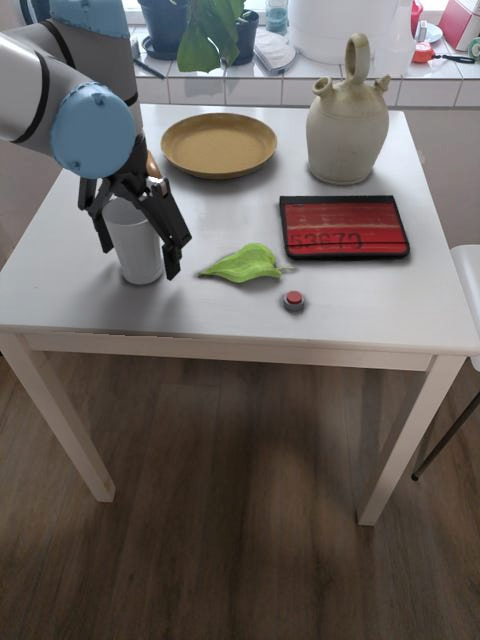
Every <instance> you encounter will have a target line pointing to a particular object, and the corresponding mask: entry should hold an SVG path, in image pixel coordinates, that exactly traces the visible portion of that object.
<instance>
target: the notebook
mask: <svg viewBox="0 0 480 640" xmlns="http://www.w3.org/2000/svg"><path fill="white" fill-rule="evenodd" d="M278 200H279V201H278V202H279V203H278V205H279V213H280V221H281V222H280V223H281V231H282V237H283V239H282V240H283V244H284V246H283V248H284V251H285V254H286V256H287V257H288V258H289V259H290V260H293V261H296V262H364V261H365V262H367V261H388V260H389V261H390V260H401V259H405V258H407V257H408V256H409V255H410V254H411V244H410V242H409V239H408V236H407V232H406V229H405V227H404V223H403V220H402V216H401V214H400V211H399V208H398V205H397V202H396V198H395V196H394V195H393V194H373V195H372V194H369V195H368V194H366V195H364V194H363V195H361V194H360V195H358V194H357V195H354V194H353V195H279V199H278Z"/></svg>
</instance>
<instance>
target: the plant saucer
mask: <svg viewBox="0 0 480 640" xmlns="http://www.w3.org/2000/svg"><path fill="white" fill-rule="evenodd" d="M277 148H278V137H277V135H276V133H275V131H274V130H273V129H272V128H271V126H269V125H268V124H266V123H265V122H263V121H262V120H259V119H257V118H255V117H252V116H249V115H245V114H241V113H234V112H208V113H207V112H206V113H199V114H196V115H192V116H188V117H186V118H183V119H180V120H179V121H176V122H175V123H173V124H172V125H170V126H169V127H168V128H167V129H166V130H165V131H164V132H163V134H162V136H161V138H160V150H161V152H162V154H163V156H164V157H165V158H166V160H167V161H168V162H169V163H170V164H171V165H172V166H174V167H175V168H176V169H178V170H179V171H181V172H183V173H185V174H187V175H190V176H193V177H196V178H199V179H206V180H229V179H236V178H239V177H243V176H246V175H248V174H251V173H253V172H255V171H257V170H259V169H261V167H263V166H264V165H265V164H267V163H268V162H269V161H270V160H271V158H272V157H273V155H274V153H275V152H276V149H277Z"/></svg>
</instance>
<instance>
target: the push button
mask: <svg viewBox="0 0 480 640" xmlns="http://www.w3.org/2000/svg"><path fill="white" fill-rule="evenodd" d="M304 304H305V297H304V295H303V294H302V293H301V292H300V291H298V290H291V291H288V292H287V293H286V294H284V296H283V306H284V307H285V308H286V309H288V310H290V311H298V310H302V308H303V307H304Z"/></svg>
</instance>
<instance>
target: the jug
mask: <svg viewBox="0 0 480 640" xmlns="http://www.w3.org/2000/svg"><path fill="white" fill-rule="evenodd" d="M370 66H371V47H370V42H369V39H368V37H367V35H366V34H365V33H363V32H355V33H353V34H352V35H351V36H350V37H349V38H348V40H347V43H346V46H345V52H344V70H345V74H346V77H345V79H344V80H343V81H340V82H336V83H334V84H333V78H332V77H331V76H328V75H326V76H322V77H320V78H319V79H318V80H317V81H315V82H314V83H313V85H312V88H311V92H312V93H313V94H314V95H315V96H316V97H314V99H313V101H312V103H311V105H310V107H309V110H308V112H307V116H306V122H305V138H306V140H305V141H306V148H307V160H308V166H309V171H310V172H311V174H312V175H313V176H314V177H315V178H317V179H318V180H320V181H321V182H323V183H326V184H330V185H333V186H334V185H335V186H352V185H355V184H358V183H361V182H363V181H364V180H366V179H367V178H368V176H369V175H370V173H371V172H372V169H373V167H374V166H375V163H376V161H377V159H378V157H379V155H380V154H381V151H382V149H383V146H384V144H385V142H386V139H387V138H388V133H389V127H390V114H389V113H390V112H389V108H388V106H387V102H386V100H385V98H384V96H383V95H384V93H386V92H388V90H389V84H390V82H391V79H392V77H391V75H390V74H388V73H386V74H384V75H383V76H382V77H379V78H376V79H374V83H373V84H371V85H370V84H366V83H365V81H366V80H367V78H368V75H369V72H370Z"/></svg>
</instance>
